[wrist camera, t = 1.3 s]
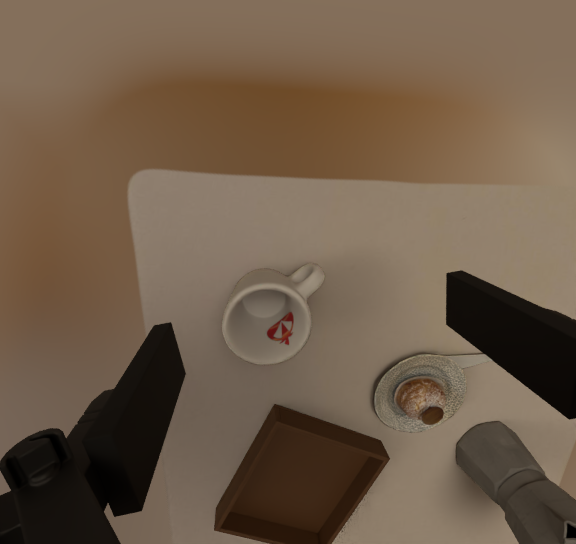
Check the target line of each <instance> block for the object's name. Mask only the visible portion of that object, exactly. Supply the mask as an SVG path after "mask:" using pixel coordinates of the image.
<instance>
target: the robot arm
mask: <svg viewBox="0 0 576 544" xmlns="http://www.w3.org/2000/svg"><path fill="white" fill-rule="evenodd" d="M446 325H448V326H449V327H450V328H452V329H453V330H454V331H455V332H457V333H458V334H459V335H461V336H462V337H463V338H464V339H466V340H467V341H468V342H470V343H471V344H472V345H473V346H475V347H476V348H477V349H479V350H480V351H481V352H483V353H484V354H485V355H486V356H488V357H489V358H490V359H492V360H493V361H494V362H495V363H497V364H498V365H499V366H501V367H502V368H503V369H505V370H506V371H507V372H508V373H510V374H511V375H512V376H514V377H515V378H516V379H517V380H519V381H520V382H521V383H523V384H524V385H525V386H526V387H528V388H529V389H530V390H532V391H533V392H534V393H536V394H537V395H538V396H539V397H541V398H542V399H543V400H545V401H546V402H547V403H548V404H550V405H551V406H552V407H554V408H555V409H556V410H558V411H559V412H560V413H561V414H563V415H564V416H565V417H567V418H568V419H574V418H576V320H575V319H571V318H570V317H568V316H566V315H564V314H561V313H559V312H557V311H553V310H549V309H545V308H542V307H540V306H538V305H536V304H533V303H531V302H529V301H527V300H525V299H523V298H520V297H518V296H516V295H514V294H512V293H510V292H507V291H505V290H503V289H501V288H499V287H497V286H494V285H492V284H490V283H488V282H486V281H484V280H481V279H479V278H477V277H475V276H473V275H471V274H468V273H466V272H464V271H462V270H461V271H456V272H450V273H447V284H446ZM185 374H186V373H185V369H184V366H183V362H182V359H181V355H180V352H179V348H178V345H177V341H176V338H175V334H174V331H173V327H172V324H171V322H170V323H165V324H159V325H154V326H153V328H152V330H151V331H150V333H149V334H148V336H147V338H146V339H145V341H144V343H143V344H142V346H141V347H140V349H139V350H138V352H137V353H136V355H135V357H134V358H133V360H132V362H131V363H130V365H129V366H128V368H127V370H126V371H125V373H124V374H123V376H122V377H121V379H120V380H119V382H118V384H117V385H116V387H115V388H114V389H112V390H107V391H104V392H103V393H101V394H100V395H99V396H98V397H97V398H96V399H94V400H93V401H92V402H91V404H90V405H89V406H88V408H87V409H86V411H85V412H84V415H82V417H81V418H80V419H79V421H78V424H77V425H75V427H74V428H73V430H72V431H71V432H70V434H69V435H68V437H67V438H65V435H64V433H63V431H61V430H60V429H53V428H52V429H51V428H50V429H46V430H43V431H39V432H37V433H35V434H33V435H30V436H28V437H27V438H25V439H23V440H22V441H20V442H19V443H17V444H16V445H15V446H14V447H12V448H11V449H10V450H9V451H8V452H7V453H6V454H5V456H4V457H3V458H2V459H1V461H0V471H1V473H2V474H3V476H4V478H5V480H6V482H7V483H8V485H9V487H10V489H11V491H10V492H7V493H5V494H3V495H0V544H121V543H120V542H119V540H118V538H117V536H116V534H115V532H114V530H113V528H112V527H111V525H110V523H109V521H108V519H107V518H106V515H105V513H104V510H105V508H106V506H107V503H109V505H110V508H111V510H112V512H113V515H114V517H116V516H121V515H125V514H130V513H135V512H139V511H142V509H143V505H144V502H145V499H146V496H147V493H148V490H149V487H150V484H151V480H152V477H153V474H154V471H155V468H156V465H157V461H158V459H159V456H160V452H161V449H162V446H163V443H164V440H165V437H166V434H167V431H168V427H169V424H170V421H171V418H172V415H173V412H174V409H175V406H176V403H177V399H178V396H179V393H180V390H181V387H182V384H183V381H184V378H185Z"/></svg>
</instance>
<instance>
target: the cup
mask: <svg viewBox="0 0 576 544" xmlns="http://www.w3.org/2000/svg"><path fill="white" fill-rule="evenodd" d="M324 279H325V274H324V272H323V270H322V269H321V267H320V266H319V265H317V264H316V263H308V264H306V265H304V266H302V267H301V268H299V269H298V270H297V271H296V272H294V273H293V274H292V275H291V276H285V275H283V274H282V273H280V272H278V271H275V270H272V269H258V270H254V271H252V272H250V273H248V274H246V275H245V276H244V277H243V278H241V280H240V281H239V282H238V283H237V285H236V287H235V289H234V291H233V293H232V295H231V297H230V300H229V302H228V304H227V306H226V309H225V311H224V314H223V319H222V331H223V336H224V339H225V341H226V343H227V345H228V346H229V348H230V349H231V350H232V351H233V352H234V353H235V354H236V355H237V356H238V357H240V358H241V359H243V360H245V361H247V362H250V363H253V364H258V365H273V364H278V363H281V362H284V361H286V360H288V359H290V358H292V357H293V356H295V355H296V354H297V353H298V352H299V351H300V350H301V349H302V348H303V347H304V345H305V344H306V342H307V340H308V338H309V336H310V333H311V328H312V317H311V312H310V309H309V306H308V304H307V299H308V297H309V296H310V295H312V294H313V293H314V292H315V291H316V290H317V289H318V288H319V287H320V286H321V285H322V283H323V281H324Z"/></svg>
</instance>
